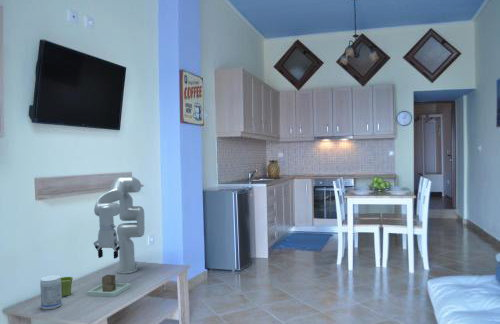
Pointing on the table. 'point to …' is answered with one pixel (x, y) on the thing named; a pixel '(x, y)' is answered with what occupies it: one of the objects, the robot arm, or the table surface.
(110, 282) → the walnut block
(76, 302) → the table surface
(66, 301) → the table surface
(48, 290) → the supplement tub
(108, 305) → the table surface
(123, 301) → the table surface
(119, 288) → the sage tray
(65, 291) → the plant pot
